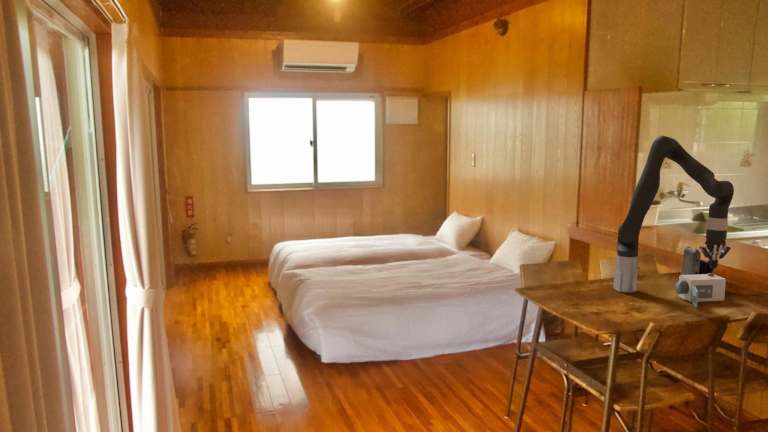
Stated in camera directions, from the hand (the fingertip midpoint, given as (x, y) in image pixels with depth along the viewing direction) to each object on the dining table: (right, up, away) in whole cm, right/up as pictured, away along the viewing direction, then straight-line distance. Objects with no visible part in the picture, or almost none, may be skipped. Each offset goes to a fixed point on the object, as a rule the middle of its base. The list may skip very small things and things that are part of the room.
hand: (713, 268), depth 237 cm
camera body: (+3, -15, +17) cm, 23 cm away
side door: (-5, -16, +7) cm, 18 cm away
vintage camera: (+14, -13, +34) cm, 39 cm away
